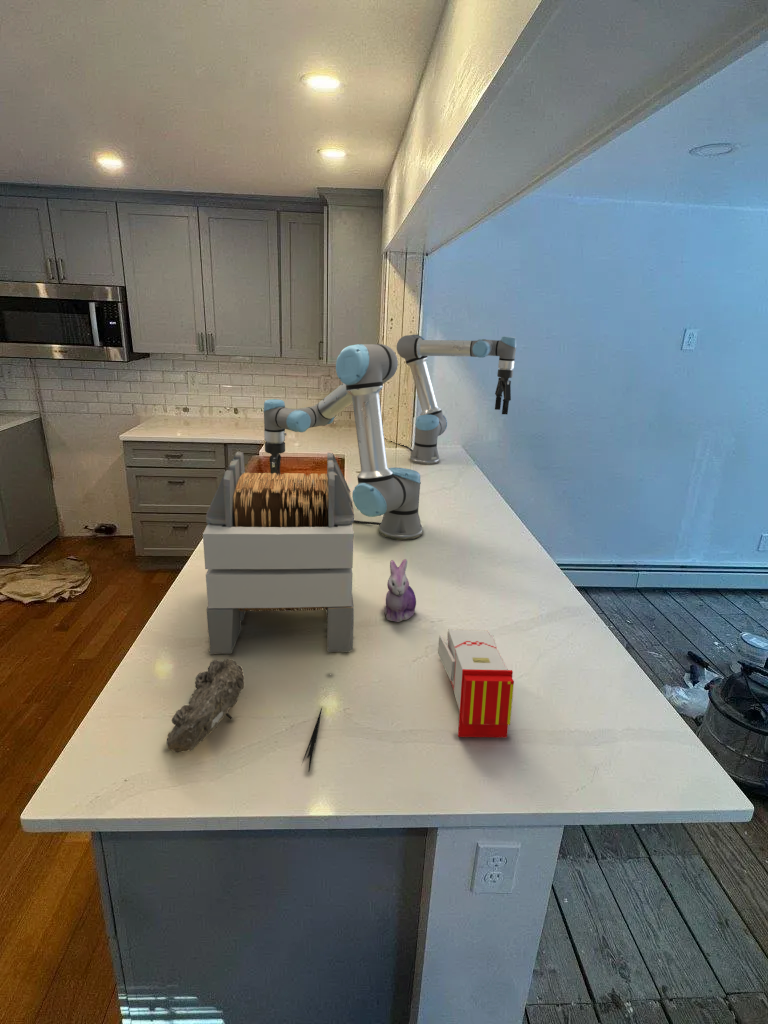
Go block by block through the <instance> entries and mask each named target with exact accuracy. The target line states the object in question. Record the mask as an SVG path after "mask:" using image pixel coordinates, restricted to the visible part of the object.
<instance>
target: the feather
mask: <svg viewBox="0 0 768 1024" xmlns="http://www.w3.org/2000/svg"><path fill="white" fill-rule="evenodd" d="M329 675H330V676H331V675H332V674H331V673H330V674H329ZM322 710H323V707H321V708H320V710H319V713H318V716H317V719H316V723H315V725H314V728H313V731H312V733H311V737H310V739H309V742H308V745H307V748H306V751H305V754H304V757H303V760H302V763H301V767H302V765H303V763H304V761H305V758H308V759H309V760H308V762H307V763H308V764H307V766H308V771H310V770H311V766H312V765H311V764H312V760H313V757H315V756H314V755H315V751H316V749H315V746H317V739H318V733H319V729H320V722H321V717H322V712H323V711H322ZM313 754H314V755H313ZM306 755H307V757H306Z"/></svg>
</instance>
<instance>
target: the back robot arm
mask: <svg viewBox="0 0 768 1024" xmlns="http://www.w3.org/2000/svg"><path fill="white" fill-rule="evenodd" d="M516 351H517V337H515V336H501V339H499V340H496V339H486V338H482V339H479V338H478V339H477V340H465V339H464V340H460V339H458V340H457V339H456V340H455V339H454V340H453V339H452V340H449V339H425V338H424V337H423V336H421V335H419V334H409V335H408V334H407V335H403V336H402V337H400V338H399V339H398V341H397V343H396V352H397V354H398V355H399V356H400V358H402V359H404V360H405V364H406V365H407V366H409V367H410V372H411V376H412V378H413V383H414V386H415V390H416V392H417V398H418V401H419V405H420V409H421V413H420V415H418V416H417V417H416V419H415V432H414V434H415V435H414V446H413V449H412V448H411V447H409V446H408V445H406V446H404V445H405V444H403V445H400V444H401V443H400V444H398V445H399V446H401V447H404V448H406V449H407V450H408V449H409V451H410V452H411V454H410V457H409V460H410V462H412V463H413V464H414V463H415V464H418V465H437V464H439V463H440V454H439V450H438V437H439V436H441V435H443V434H444V432H445V431H446V430H447V427H448V421H447V420H448V419H447V418H446V416H445V415H444V414H443V409H442V408H441V407H439V406H438V402H437V398H436V395H435V391H434V387H433V384H432V380H431V376H430V371H429V369H428V364H427V361H428V359H429V357H461V358H462V357H465V358H467V357H469V358H479V359H480V358H486V357H488V356H490V357H498V363H497V367H498V369H497V373H496V374H497V377H498V380H497V384H496V388H495V393H494V395H495V402H494V403H495V404H494V410H495V411H497V410H498V411H500V410H501V415H508V413H509V405H510V404H509V403H510V401H512V395H511V394H512V393H511V391H512V389H511V386H512V385H511V384H512V381H511V380H510V379H512V378H513V377H514V369H515V365H516V362H515V359H516ZM502 398H503V399H502ZM501 405H502V408H501Z"/></svg>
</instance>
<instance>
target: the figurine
mask: <svg viewBox="0 0 768 1024" xmlns="http://www.w3.org/2000/svg"><path fill="white" fill-rule="evenodd" d="M407 567H408V559H406V558H404V559H403V560H402V561H401V563H400V565H399V566H398V565H397V563H396V562H395V561H394V560H393V559H391V560H390V561H389V570H390V576H389V578H388V579H387V589H388V591H387V592H386V594H385V595H386V596H385V607H384V615H385V616H386V620H387V621H391V622H395V623H400V622H402V621H406V620H409V619H410V618H411V617H413V616H414V615H415V610H416V606H417V597H416V593H415V591H414V590H413V587H411V586H410V582H409V579H408V577H407V574H406V571H407Z"/></svg>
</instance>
